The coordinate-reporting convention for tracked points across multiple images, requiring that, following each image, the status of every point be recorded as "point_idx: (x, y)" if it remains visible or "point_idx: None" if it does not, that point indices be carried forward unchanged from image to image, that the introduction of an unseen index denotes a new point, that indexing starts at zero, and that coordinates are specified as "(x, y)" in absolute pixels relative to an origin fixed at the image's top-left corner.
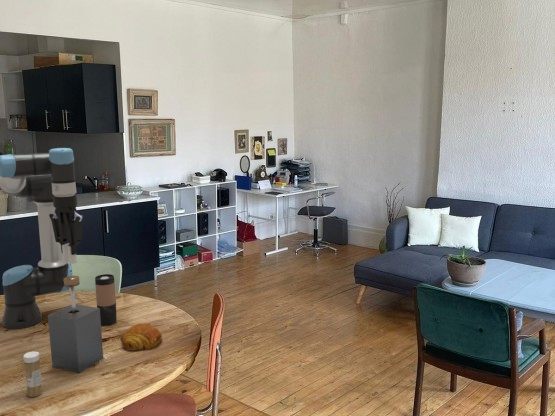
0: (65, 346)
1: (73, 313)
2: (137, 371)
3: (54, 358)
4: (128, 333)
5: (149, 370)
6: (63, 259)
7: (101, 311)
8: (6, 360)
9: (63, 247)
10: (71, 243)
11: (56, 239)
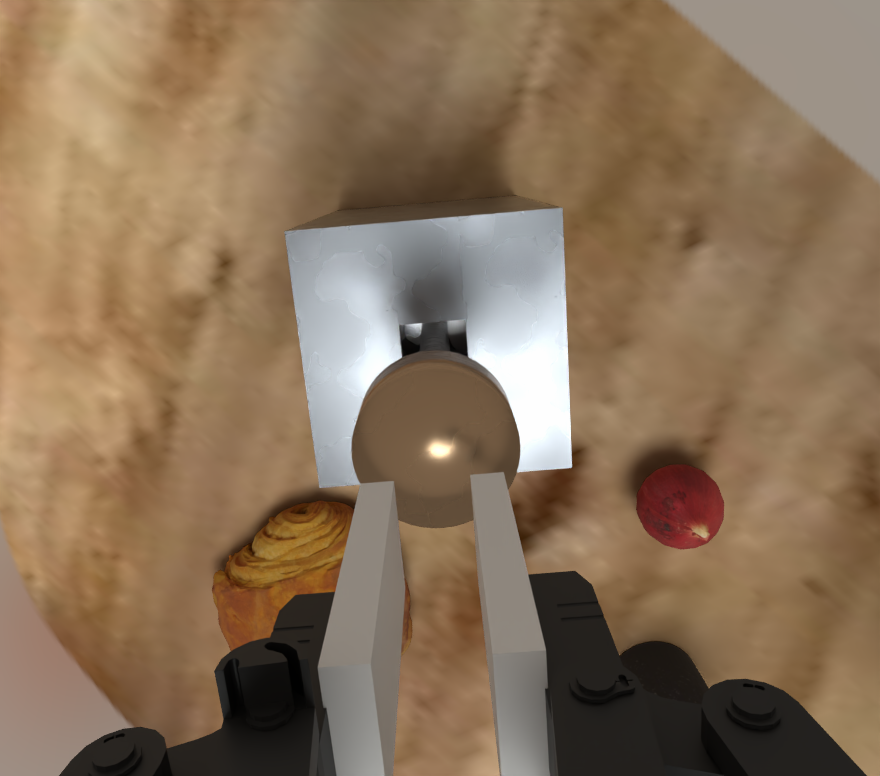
0: (409, 210)
1: (426, 339)
2: (108, 357)
3: (500, 198)
4: (330, 561)
5: (68, 391)
6: (504, 499)
7: (670, 693)
8: (802, 131)
9: (503, 622)
10: (241, 728)
11: (772, 732)
